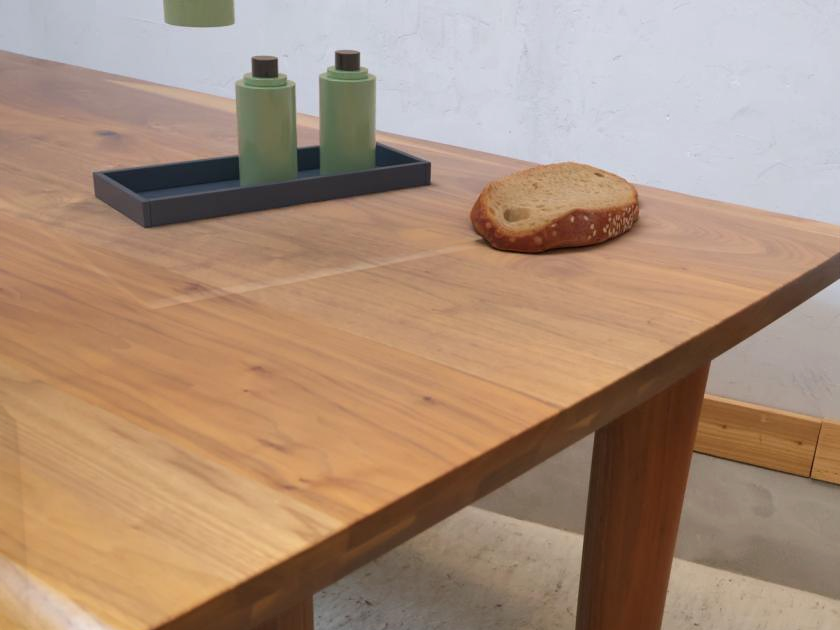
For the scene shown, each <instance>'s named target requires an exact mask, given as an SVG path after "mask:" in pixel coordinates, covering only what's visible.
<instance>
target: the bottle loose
mask: <svg viewBox="0 0 840 630" xmlns="http://www.w3.org/2000/svg"><path fill="white" fill-rule="evenodd" d="M235 4H236V1H235V0H162V6H163V20H164V23H165V24H167V25H170V26H175V27H182V28H183V27H184V28H222V27H228V26H233V25H235V24H236V5H235Z"/></svg>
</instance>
